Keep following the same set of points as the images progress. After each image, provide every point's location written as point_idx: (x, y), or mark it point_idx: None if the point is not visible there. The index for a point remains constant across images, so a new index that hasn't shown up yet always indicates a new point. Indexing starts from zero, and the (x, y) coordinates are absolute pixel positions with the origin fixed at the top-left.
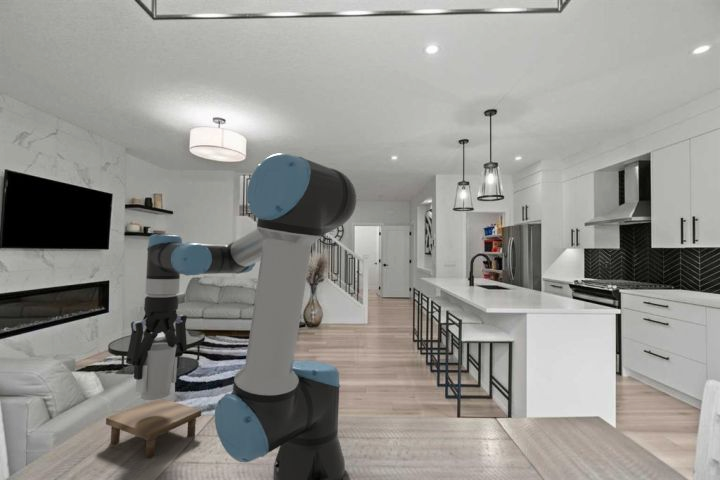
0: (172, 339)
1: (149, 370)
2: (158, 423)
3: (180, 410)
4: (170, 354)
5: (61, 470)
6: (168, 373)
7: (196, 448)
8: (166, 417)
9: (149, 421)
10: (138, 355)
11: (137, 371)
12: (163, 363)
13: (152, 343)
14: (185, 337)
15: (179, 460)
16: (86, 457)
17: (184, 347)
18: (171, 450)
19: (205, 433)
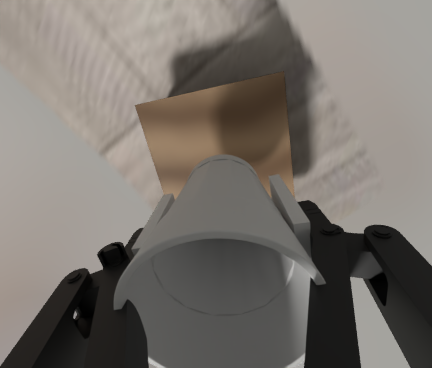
0: (122, 348)
1: (275, 210)
2: (243, 111)
3: (174, 143)
4: (189, 214)
5: (363, 162)
6: (201, 179)
7: (185, 44)
8: (215, 130)
9: (251, 139)
10: (386, 262)
11: (325, 219)
12: (230, 194)
13: (307, 334)
14: (15, 353)
15: (231, 23)
16: (322, 175)
17: (69, 287)
18: (223, 80)
19: (144, 94)
